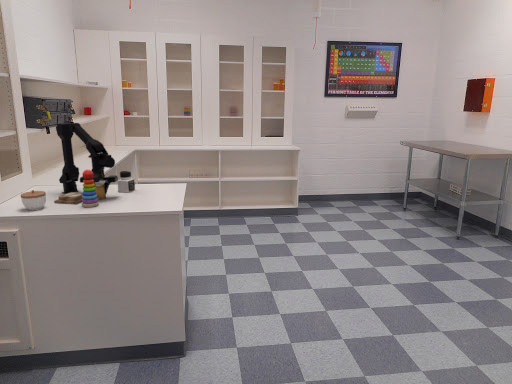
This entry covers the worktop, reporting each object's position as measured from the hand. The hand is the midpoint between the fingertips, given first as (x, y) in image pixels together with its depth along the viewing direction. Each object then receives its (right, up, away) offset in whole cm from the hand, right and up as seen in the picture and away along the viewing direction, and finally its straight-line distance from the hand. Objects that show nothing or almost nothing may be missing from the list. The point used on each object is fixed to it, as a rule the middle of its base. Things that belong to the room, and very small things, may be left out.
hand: (100, 194), depth 206 cm
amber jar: (0, -2, +1) cm, 2 cm away
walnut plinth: (-12, -3, -5) cm, 14 cm away
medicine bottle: (+9, +2, +16) cm, 18 cm away
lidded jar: (-24, -7, -20) cm, 32 cm away
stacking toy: (+1, -6, -14) cm, 16 cm away
